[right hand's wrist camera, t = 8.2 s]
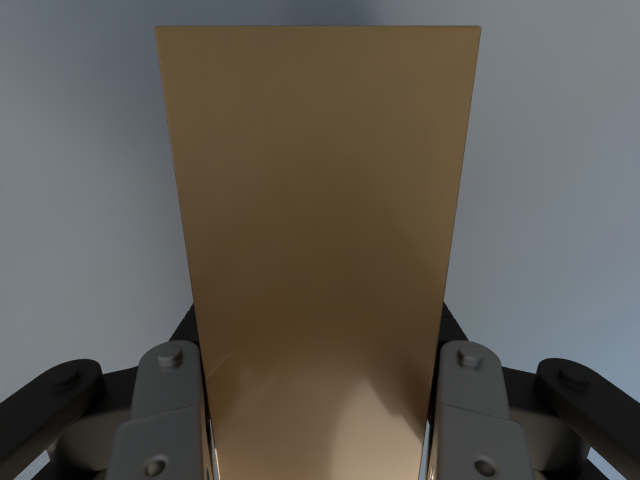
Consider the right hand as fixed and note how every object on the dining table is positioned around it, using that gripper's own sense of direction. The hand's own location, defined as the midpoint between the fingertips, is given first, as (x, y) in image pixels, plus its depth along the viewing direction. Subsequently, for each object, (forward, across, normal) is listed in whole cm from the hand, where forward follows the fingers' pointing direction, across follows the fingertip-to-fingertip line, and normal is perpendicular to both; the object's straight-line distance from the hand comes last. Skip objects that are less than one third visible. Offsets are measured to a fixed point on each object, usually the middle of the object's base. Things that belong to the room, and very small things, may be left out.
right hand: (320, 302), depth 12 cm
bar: (+2, 0, -32) cm, 32 cm away
